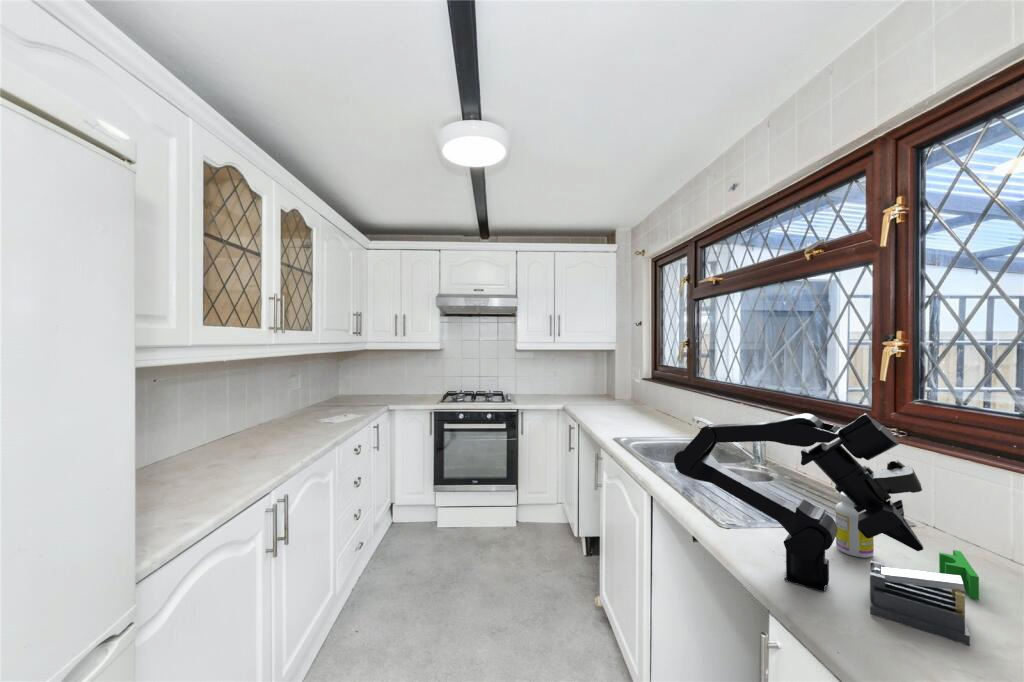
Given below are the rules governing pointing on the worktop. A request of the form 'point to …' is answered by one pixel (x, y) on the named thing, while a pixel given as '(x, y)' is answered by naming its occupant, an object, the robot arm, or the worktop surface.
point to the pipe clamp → (960, 571)
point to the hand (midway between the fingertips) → (920, 549)
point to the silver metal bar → (919, 578)
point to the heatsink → (920, 607)
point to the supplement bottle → (851, 530)
